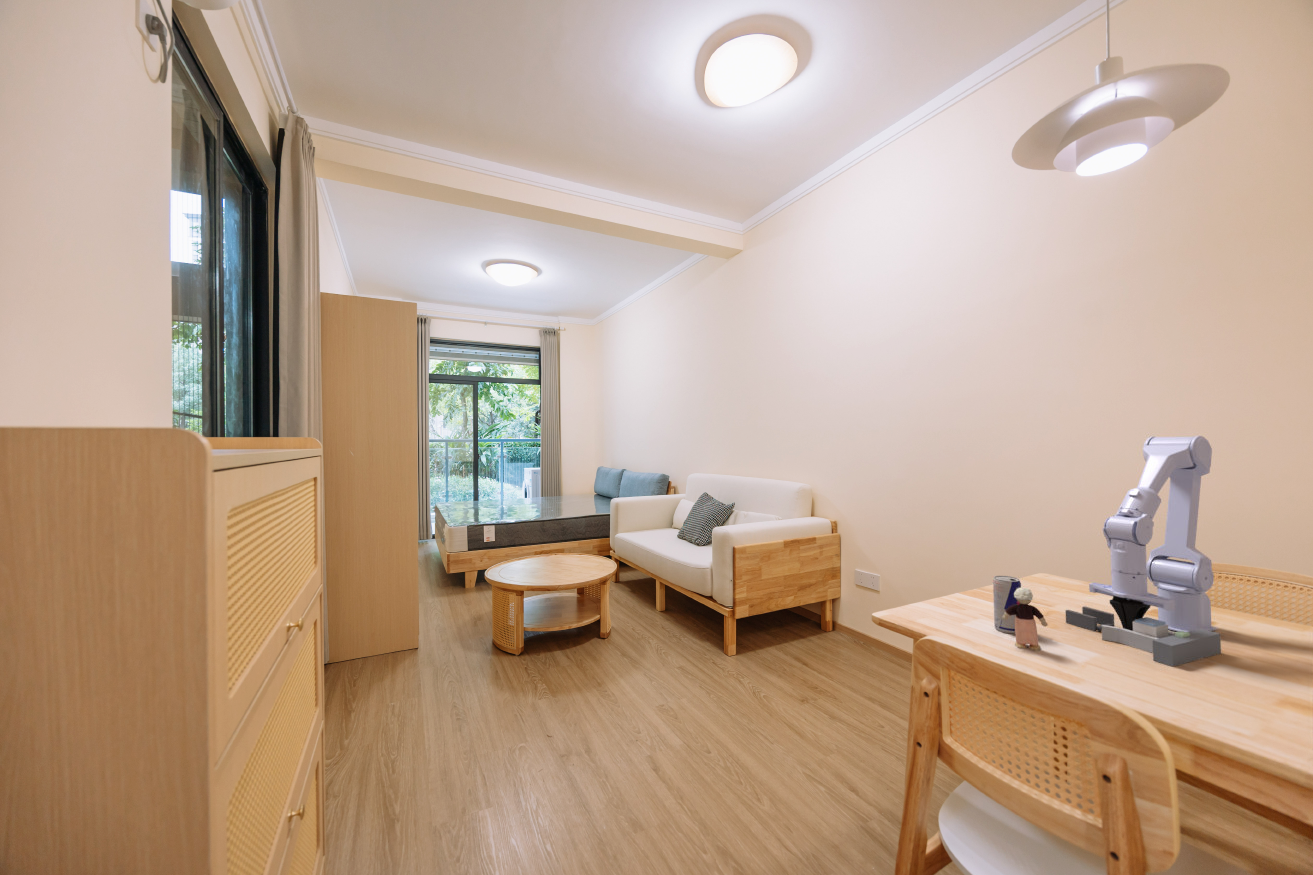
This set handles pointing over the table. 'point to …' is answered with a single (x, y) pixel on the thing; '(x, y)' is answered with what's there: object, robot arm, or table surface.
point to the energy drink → (1004, 602)
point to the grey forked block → (1169, 644)
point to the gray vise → (1090, 618)
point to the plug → (1151, 627)
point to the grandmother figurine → (1025, 619)
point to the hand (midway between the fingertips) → (1130, 633)
